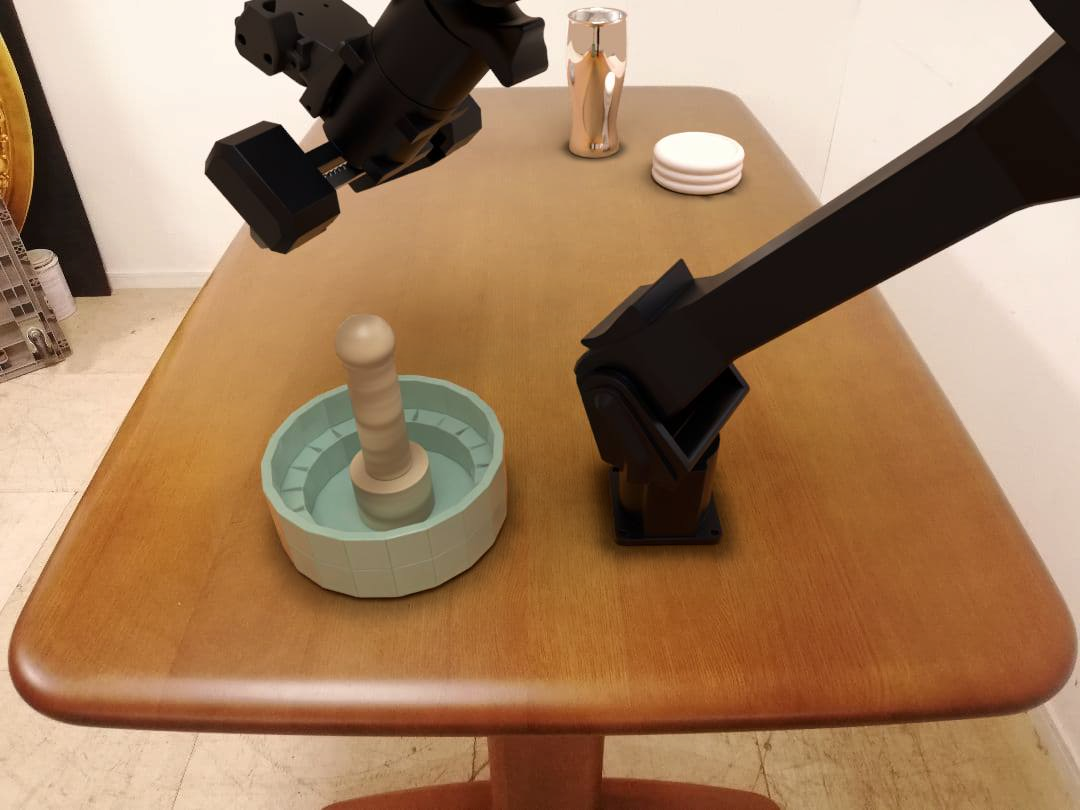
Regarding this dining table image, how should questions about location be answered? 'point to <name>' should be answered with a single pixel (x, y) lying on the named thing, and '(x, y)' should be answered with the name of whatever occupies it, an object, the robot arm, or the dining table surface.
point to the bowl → (330, 505)
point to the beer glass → (595, 78)
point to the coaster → (697, 163)
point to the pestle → (381, 429)
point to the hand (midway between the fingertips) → (307, 212)
